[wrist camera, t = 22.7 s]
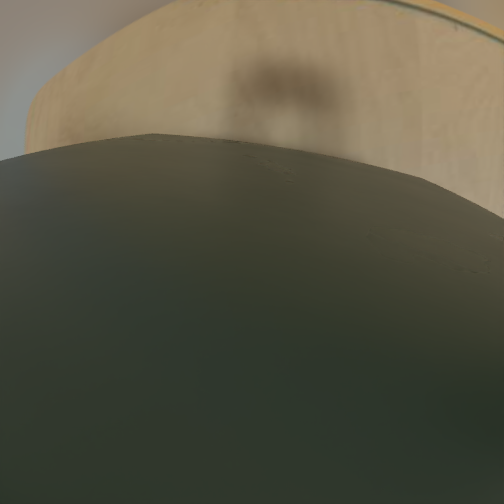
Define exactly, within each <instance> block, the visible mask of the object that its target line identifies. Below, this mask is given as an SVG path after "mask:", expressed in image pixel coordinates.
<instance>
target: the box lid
mask: <svg viewBox="0 0 504 504" xmlns="http://www.w3.org/2000/svg"><path fill="white" fill-rule="evenodd" d="M0 504H504V219H503V218H501V217H499V216H498V215H496V214H494V213H492V212H490V211H488V210H486V209H485V208H483V207H481V206H479V205H477V204H475V203H473V202H471V201H469V200H467V199H465V198H463V197H461V196H459V195H457V194H455V193H453V192H451V191H449V190H447V189H444V188H442V187H440V186H438V185H436V184H434V183H431V182H429V181H427V180H425V179H422V178H419V177H415V176H412V175H408V174H404V173H401V172H397V171H393V170H389V169H385V168H381V167H377V166H372V165H368V164H364V163H359V162H355V161H350V160H346V159H341V158H336V157H331V156H326V155H321V154H316V153H310V152H305V151H299V150H293V149H287V148H281V147H275V146H268V145H261V144H254V143H247V142H239V141H231V140H222V139H213V138H203V137H192V136H180V135H167V134H145V135H136V136H127V137H120V138H112V139H105V140H99V141H92V142H86V143H80V144H75V145H69V146H64V147H59V148H54V149H49V150H44V151H39V152H35V153H30V154H26V155H22V156H18V157H14V158H10V159H6V160H2V161H0Z"/></svg>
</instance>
